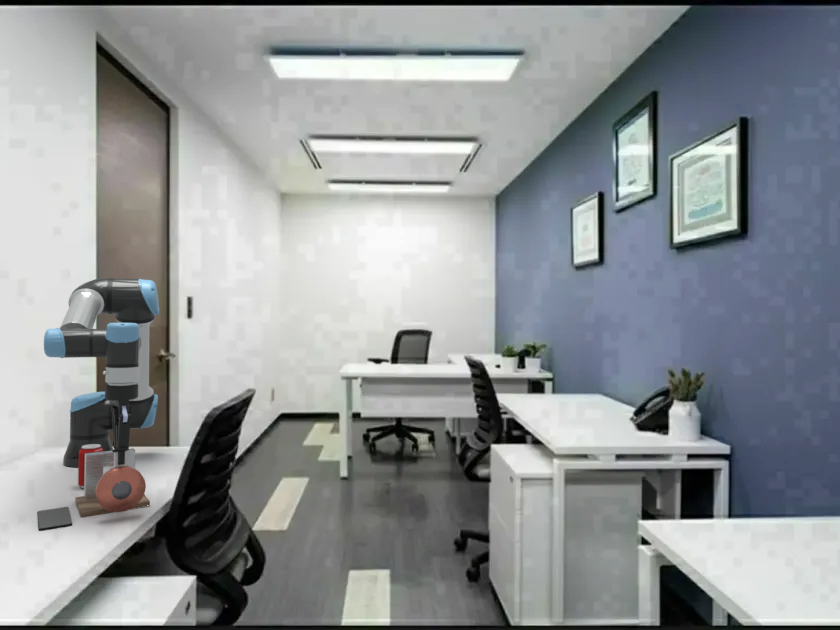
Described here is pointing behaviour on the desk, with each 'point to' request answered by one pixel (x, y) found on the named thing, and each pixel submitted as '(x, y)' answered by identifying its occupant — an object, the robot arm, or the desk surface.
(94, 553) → the desk surface
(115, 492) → the copper knob thumbscrew
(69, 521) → the smartphone
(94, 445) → the beverage can
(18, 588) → the desk surface
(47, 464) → the desk surface
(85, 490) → the eye plate
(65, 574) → the desk surface
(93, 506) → the walnut board
